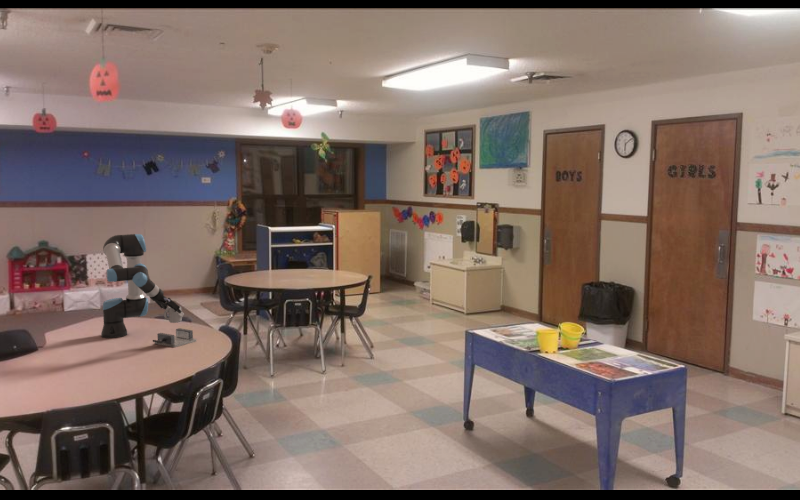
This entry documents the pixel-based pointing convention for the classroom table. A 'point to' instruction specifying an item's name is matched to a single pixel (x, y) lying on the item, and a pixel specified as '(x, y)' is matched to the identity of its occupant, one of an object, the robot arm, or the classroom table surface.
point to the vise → (175, 338)
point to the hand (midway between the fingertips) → (178, 314)
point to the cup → (172, 315)
